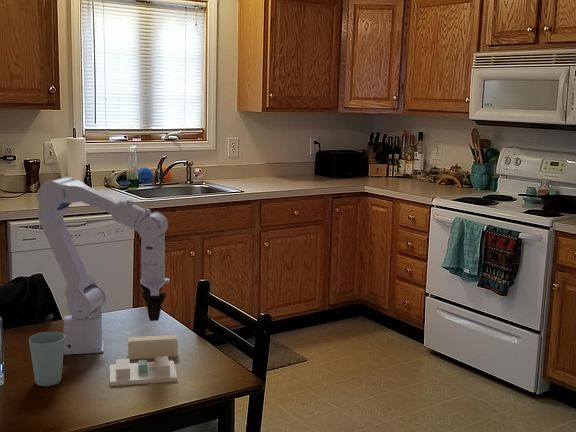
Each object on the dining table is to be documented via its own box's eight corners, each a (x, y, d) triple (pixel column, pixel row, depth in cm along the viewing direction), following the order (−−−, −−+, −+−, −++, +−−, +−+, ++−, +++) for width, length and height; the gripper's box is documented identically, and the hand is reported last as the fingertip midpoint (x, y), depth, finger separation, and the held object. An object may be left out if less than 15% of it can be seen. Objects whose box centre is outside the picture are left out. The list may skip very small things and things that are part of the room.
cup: (47, 391, 151) (46, 346, 149) (22, 383, 154) (21, 339, 152) (73, 379, 157) (72, 335, 156) (48, 372, 161) (47, 329, 159)
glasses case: (128, 360, 170) (128, 342, 169) (128, 354, 174) (128, 336, 173) (177, 357, 173) (177, 339, 172) (176, 351, 177) (176, 334, 176)
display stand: (109, 386, 154) (109, 373, 154) (109, 368, 164) (109, 356, 163) (177, 381, 158) (177, 369, 158) (173, 364, 168) (173, 352, 167)
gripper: (172, 269, 163) (171, 324, 166) (167, 255, 177) (166, 305, 179) (141, 270, 161) (141, 325, 164) (139, 255, 175) (139, 306, 178)
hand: (152, 315), depth 171 cm, fingers open, 7 cm apart
